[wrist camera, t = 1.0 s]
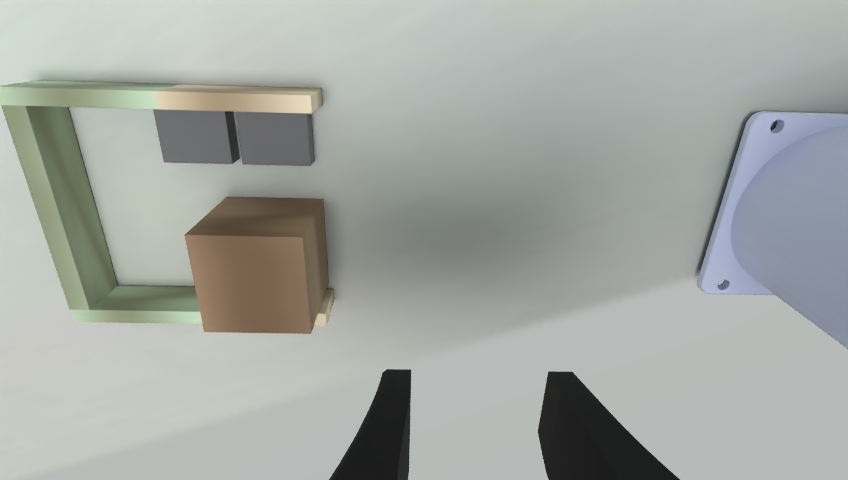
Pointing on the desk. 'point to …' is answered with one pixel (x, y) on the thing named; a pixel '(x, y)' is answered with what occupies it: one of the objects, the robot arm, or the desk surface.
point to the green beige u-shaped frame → (72, 198)
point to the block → (260, 265)
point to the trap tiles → (217, 143)
